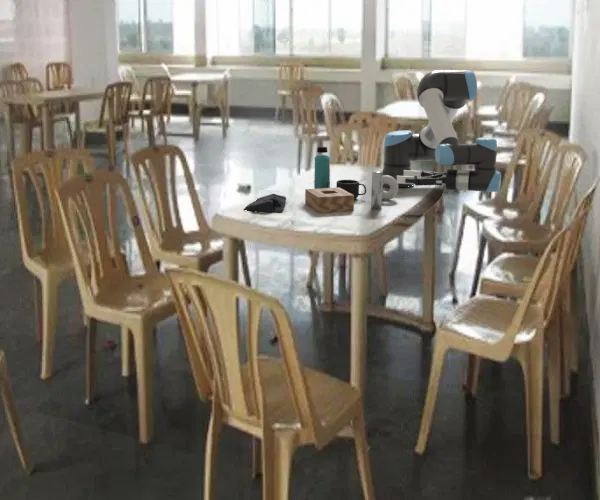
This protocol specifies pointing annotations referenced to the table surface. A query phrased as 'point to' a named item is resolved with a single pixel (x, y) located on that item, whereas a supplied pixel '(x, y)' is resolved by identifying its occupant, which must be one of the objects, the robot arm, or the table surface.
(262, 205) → the dark slate chunk
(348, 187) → the mug
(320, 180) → the beverage bottle
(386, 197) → the donut
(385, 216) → the table surface
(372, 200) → the pin
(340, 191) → the block
